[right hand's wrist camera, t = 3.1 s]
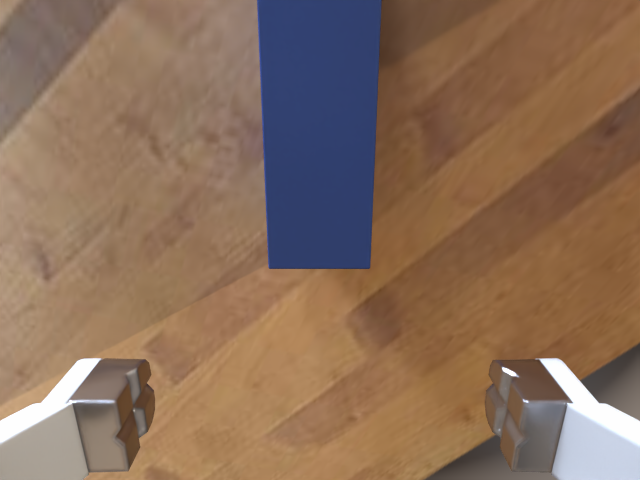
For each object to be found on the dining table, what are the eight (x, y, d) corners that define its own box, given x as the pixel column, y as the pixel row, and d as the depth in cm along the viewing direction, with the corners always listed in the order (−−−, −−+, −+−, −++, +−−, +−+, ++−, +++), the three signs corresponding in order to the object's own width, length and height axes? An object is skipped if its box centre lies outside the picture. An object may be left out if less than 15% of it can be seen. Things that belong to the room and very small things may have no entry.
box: (356, 217, 37) (370, 269, 27) (282, 217, 37) (268, 269, 27) (367, -153, 29) (393, -274, 19) (271, -153, 29) (245, -274, 19)
